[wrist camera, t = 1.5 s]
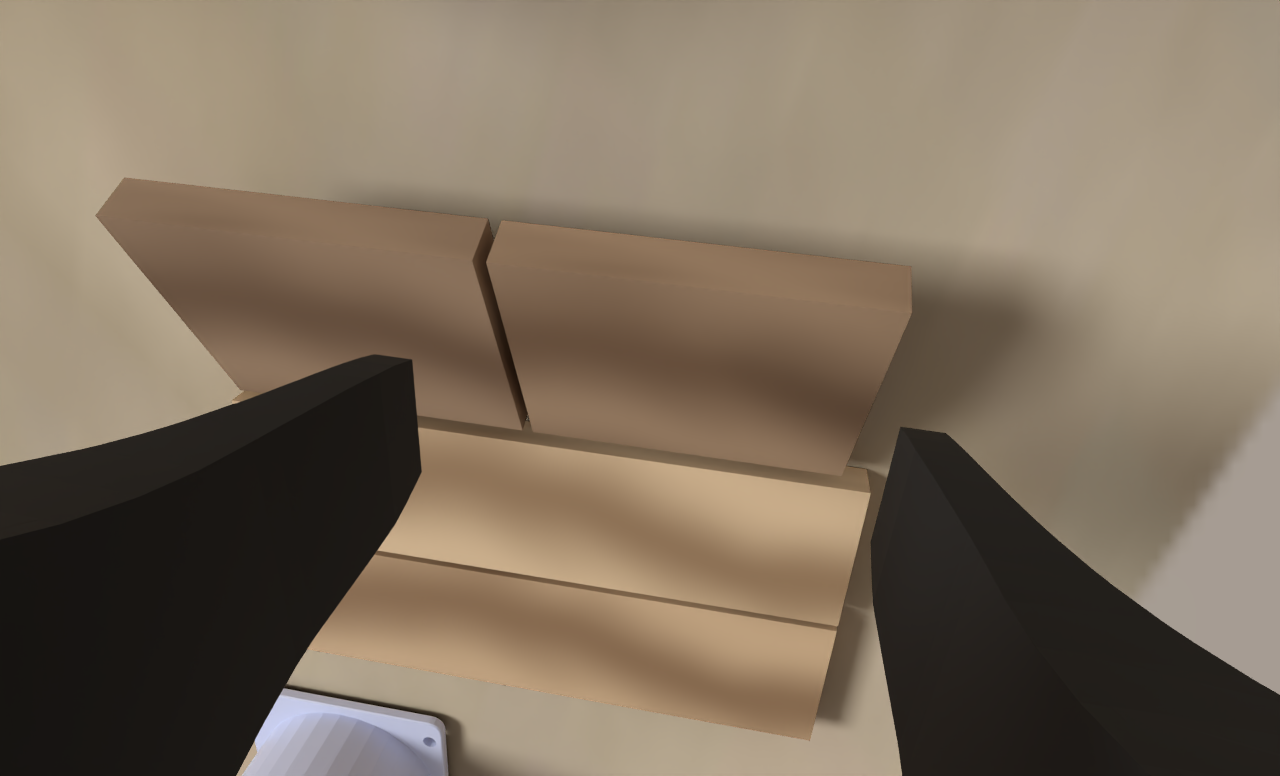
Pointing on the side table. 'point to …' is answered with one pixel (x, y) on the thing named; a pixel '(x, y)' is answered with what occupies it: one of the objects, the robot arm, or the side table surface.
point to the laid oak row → (611, 575)
